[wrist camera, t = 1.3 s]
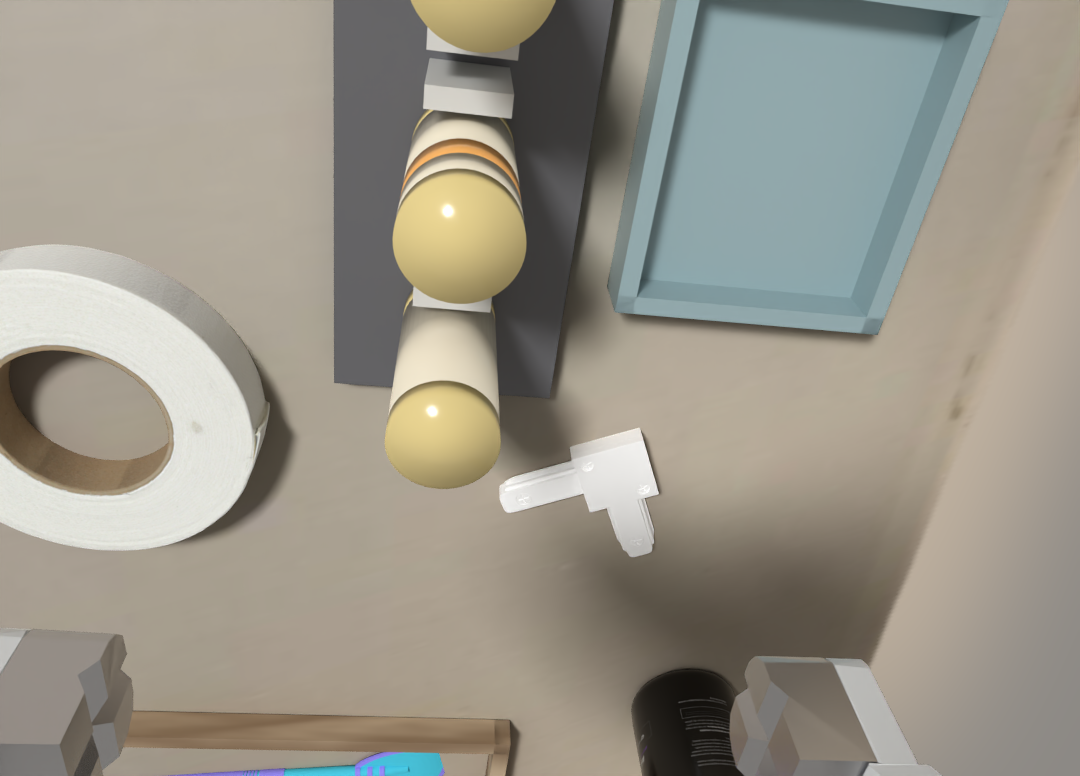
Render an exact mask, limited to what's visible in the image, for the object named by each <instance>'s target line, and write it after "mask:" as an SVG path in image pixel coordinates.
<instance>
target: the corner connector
mask: <svg viewBox="0 0 1080 776" xmlns="http://www.w3.org/2000/svg"><path fill="white" fill-rule="evenodd" d="M570 453H571V460H572V461H568V462H565V463H561V464H557V465H554V466H550V467H546V468H543V469H539V470H536V471H532V472H528V473H525V474H521V475H517V476H514V477H512V478H510V479H508V480H506V481H505V483H504V484H502V485H500V487H499V493H500V501H501V504H502V506H503V508H504V510H505V511H506V512H508V513H512V512H517V511H521V510H525V509H529V508H532V507H536V506H540V505H544V504H547V503H551V502H555V501H558V500H562V499H566V498H570V497H573V496H577V495H581V494H584V497H585V499H586V502H587V505H588V508H589V511H590V512H594V511H598V510H602V509H605V508H607V511H608V514H609V517H610V520H611V523H612V526H613V529H614V532H615V534H616V537H617V540H618V541H619V542H620V544H621V545H622V548H623V550H624V551H627V554H628V555H629V556H630V557H637V556H641V555H645V554H648V553H650V552H651V551H652V544H654V539H653V537H654V528H653V525H652V521H651V518H650V515H649V511H648V508H647V505H646V501H645V498H647V497H651V496H654V495H658V494H659V492H658V489H657V485H656V482H655V478H654V475H653V471H652V468H651V464H650V461H649V457H648V454H647V450H646V447H645V444H644V440H643V437H642V433H641V430H640V428H636V429H632V430H629V431H625V432H622V433H618V434H614V435H611V436H607V437H604V438H600V439H596V440H593V441H589V442H586V443H582V444H578V445H575V446H571V447H570Z"/></svg>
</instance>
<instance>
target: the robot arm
mask: <svg viewBox="0 0 1080 776" xmlns="http://www.w3.org/2000/svg"><path fill="white" fill-rule="evenodd" d="M126 655H127V652H126V648H125V644H124V639H123V636H122V635H118V634H108V633H91V632H75V631H59V630H42V629H17V628H0V776H103V773H102V770H103V769H104V768H106V767H107V766H108V765H109V764H111V763H112V762H113V761H114V760H115V759H117V758H118V757H119V756H120V754H121V751H122V748H123V746H124V743H125V740H126V738H127V735H128V731H129V726H130V721H131V717H132V712H133V687H132V680H131V678H130V677H129V676H127V675H126V674H125V673H124V672H123V671H122V670H120V669H121V667H122V664H123V662H124V660H125V657H126ZM744 676H745V679H746V682H747V685H748V688H747V689H746V690H744V691H743V692H742V693H740V694H739V695H737V696H736V697H735V701H734V704H733V707H732V710H731V713H730V732H729V734H730V741H731V748H732V753H733V757H734V760H735V764H736V767H737V769H738V770H739V771H740V772H741V773H742V774H743V775H744V776H942V775H941V774H940V773H939V772H937V771H936V770H935V769H933V768H932V767H931V766H930V765H925V764H918V762H917V760H916V758H915V756H914V754H913V752H912V750H911V748H910V746H909V744H908V742H907V740H906V738H905V736H904V735H903V733H902V731H901V729H900V727H899V725H898V723H897V721H896V719H895V717H894V715H893V713H892V711H891V709H890V707H889V705H888V703H887V701H886V699H885V697H884V695H883V693H882V691H881V689H880V687H879V685H878V683H877V682H876V680H875V678H874V676H873V674H872V672H871V670H870V668H869V666H868V665H867V664H866V663H865V662H864V661H863V660H862V659H839V658H825V659H823V658H821V657H781V656H755V657H754V658H752V659H751V660H750V661H749V663H748V665H747V668H746V671H745V673H744Z"/></svg>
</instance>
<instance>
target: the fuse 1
mask: <svg viewBox="0 0 1080 776" xmlns="http://www.w3.org/2000/svg"><path fill="white" fill-rule="evenodd" d="M555 1H556V0H411V2H412V5H413V6H414V8H415V10H416V12H417V14H418V15H419V17H420V18H421V19H422V21H423V22H424V23H425V24H426V25H427V27H428V28H429V29H430V30H431V31H432V32H433V33H435V34H436V35H437V36H438V37H439V38H441V39H442V40H444V41H445V42H447V43H449V44H451V45H453V46H455V47H457V48H460V49H463V50H466V51H471V52H478V53H490V52H498V51H502V50H506V49H509V48H511V47H514V46H516V45H518V44H520V43H522V42H523V41H525V40H526V39H527V38H529V37H530V36H532V35H533V34H534V33H535V32H536V31H537V30H538V29H539V28H540V26H541V25H542V24H543V23H544V21H545V20H546V19H547V17H548V15H549V14H550V12H551V10H552V8H553V6H554V4H555Z"/></svg>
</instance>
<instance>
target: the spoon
mask: <svg viewBox="0 0 1080 776" xmlns="http://www.w3.org/2000/svg"><path fill="white" fill-rule="evenodd" d="M444 773H445V772H444V769H443V765H442V762H441V759H440V755H439V753H410V752H383V753H379V754H376V755H373V756H370V757H368V758H366V759H364V760H362V761H360V762H359V763H357V764H356V765H349V766H331V767H313V768H296V769H285V768H283V769H267V770H260V771H258V770H256V771H255V770H252V771H251V770H250V771H234V772H218V773H202V774H186V775H170V776H442V775H443V774H444Z"/></svg>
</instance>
